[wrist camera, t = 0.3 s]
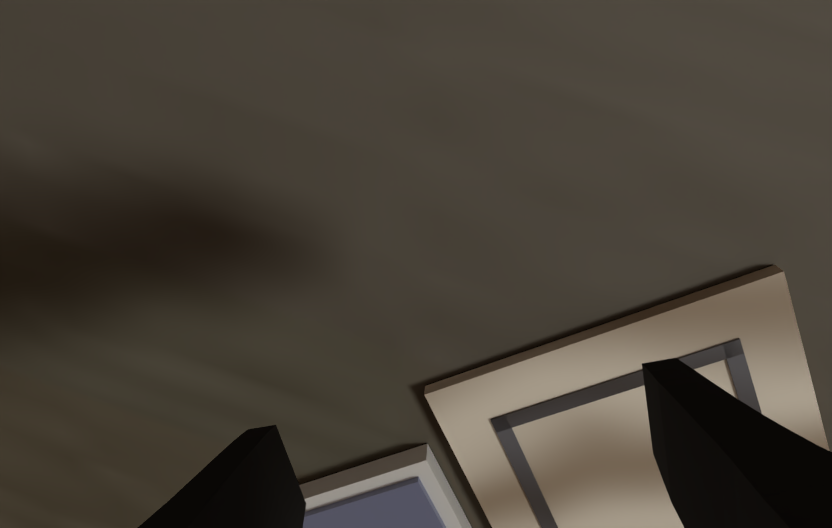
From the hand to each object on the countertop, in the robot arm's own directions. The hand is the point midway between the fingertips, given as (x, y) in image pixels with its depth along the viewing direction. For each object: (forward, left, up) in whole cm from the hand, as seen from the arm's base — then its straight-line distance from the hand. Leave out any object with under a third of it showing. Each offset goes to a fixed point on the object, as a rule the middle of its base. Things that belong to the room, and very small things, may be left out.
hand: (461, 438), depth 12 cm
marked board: (-11, -3, -10) cm, 15 cm away
